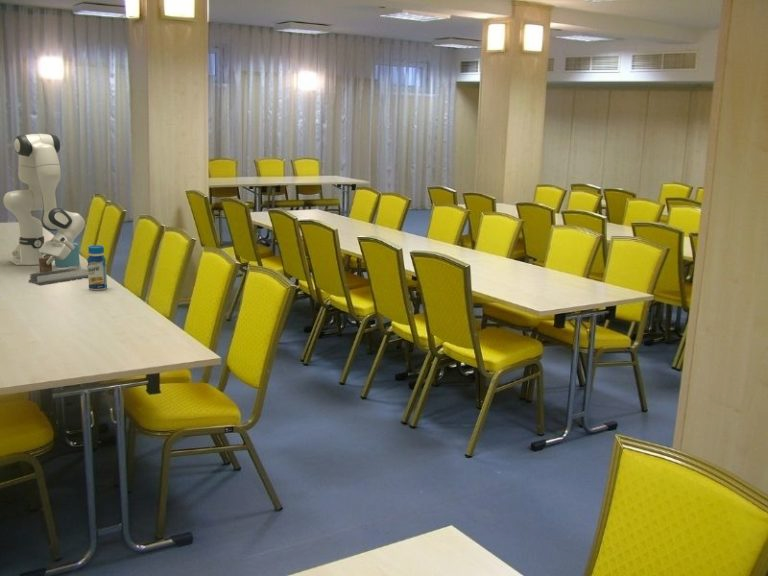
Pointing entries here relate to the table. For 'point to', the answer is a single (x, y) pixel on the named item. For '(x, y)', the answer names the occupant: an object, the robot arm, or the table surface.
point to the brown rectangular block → (44, 265)
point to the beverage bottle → (97, 268)
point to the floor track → (58, 276)
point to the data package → (70, 258)
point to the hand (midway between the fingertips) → (44, 263)
